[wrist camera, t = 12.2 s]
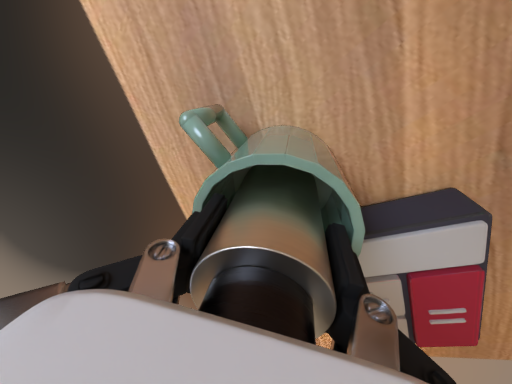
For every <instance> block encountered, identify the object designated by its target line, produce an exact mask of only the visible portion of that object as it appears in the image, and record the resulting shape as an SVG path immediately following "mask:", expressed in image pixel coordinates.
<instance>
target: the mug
mask: <svg viewBox="0 0 512 384" xmlns="http://www.w3.org/2000/svg"><path fill="white" fill-rule="evenodd" d="M215 122H216V123H217V124H218V126H219V127H220V128H221V129H222V130H223V132H224V133H225V134H226V135H227V137H228V138H229V139H230V140H231V141H232V143H233V144H234V145H235V146H236V149H235V150H234V151H233V152H232V153H231V154H230V153H229V152H228V151H227V149H226V148H225V147H224V146H223V145H222V143H221V142H220V141H219V140H218V139H217V137H216V136H215V135H214V134H213V133H212V131H211V130H210V129H209V128H208V127H207V126H208V125H210V124H213V123H215ZM179 124H180V126H181V127H182V129H183V130H184V131H185V132H186V133H187V134H188V136H189V137H190V138H191V139H192V140H193V141H194V142H195V144H196V145H197V146H198V147H199V148H200V149H201V150H202V152H203V153H204V154H205V155H206V156H207V157H208V158H209V159H210V161H211V162H212V163H213V164H214V165H215V166H216V167H217V168H216V169H215V170H214V171H213V172H212V173H211V174H210V175H209V176H208V177H207V178H206V180H205V181H204V183H203V184H202V186H201V188H200V190H199V191H198V193H197V195H196V197H195V199H194V203H193V211H192V213H193V212H194V211H198V212H201V210H202V209H203V208H204V206H205V205H206V204H207V203H208V201H209V200H210V199H211V197H212V196H213V195H214V193H218V194H222V195H225V198H227V199H228V202H227V209H228V207H229V205H230V203H231V202H232V200H233V198H234V196H235V195H236V193H237V191H238V189H239V188H240V186H241V184H242V182H243V180H244V179H245V177H246V175H247V173H248V172H249V170H250V169H251V167H252V166H254V165H286V166H289V167H292V168H296V169H299V170H302V171H305V172H309V173H311V174H313V176H314V178H315V182H316V187H317V193H318V199H319V204H320V210H321V216H322V222H323V228H324V233H325V231H326V229H327V227H328V225H329V224H331V225H332V224H333V223H338V224H342V225H344V226H345V228H346V231H347V234H348V238H349V241H350V244H351V247H352V250H353V252H355V253H356V254H357V257H358V256H359V255H360V253H361V250H362V245H363V240H364V235H365V226H364V221H363V217H362V212H361V207H360V205H359V202H358V200H357V199H356V197H355V195H354V193H353V191H352V189H351V187H350V185H349V183H348V181H347V179H346V177H345V175H344V173H343V171H342V169H341V167H340V165H339V163H338V162H337V160H336V158H335V156H334V155H333V153H332V152H331V150H330V149H329V147H328V146H327V145H326V144H325V143H324V142H323V141H322V140H321V139H320V138H319V137H318V136H316V135H315V134H313V133H311V132H309V131H307V130H305V129H302V128H299V127H294V126H285V125H281V126H273V127H268V128H265V129H262V130H260V131H258V132H256V133H254V134H253V135H251V136H250V137H248V138H247V137H246V135H245V134H244V133H243V132H242V130H241V129H240V128H239V126H238V125H237V124H236V123H235V121H234V120H233V119H232V118H231V116H230V115H229V114H228V113H227V111H226V110H225V109H224V108H223V107H222V106H221V105H219V104H215V105H210V106H206V107H202V108H197V109H193V110H188V111H185V112H183V113H182V114H181V115H180V117H179ZM227 209H226V211H227Z"/></svg>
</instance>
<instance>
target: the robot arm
mask: <svg viewBox="0 0 512 384" xmlns="http://www.w3.org/2000/svg"><path fill="white" fill-rule="evenodd" d="M227 202H228V199H227V198H225V195H222V194H218V193H214V195H213V196H212V197H211V199H210V200H209V201H208V203H207V204H206V205H205V206H204V208H203V209H202V210H201V212H198V211H194V212H193V213H192V215H191V216H190V217H189V218H188V220H187V221H186V222H185V223H184V225H183V226H182V227H181V228H180V230H179V231H178V232H177V233H176V235H175V236H174V237H173V238H172V239H171V240H170V239H160V240H156V241H154V242H152V243H150V244H149V245H148V246H147V247H146V249H145V250H144V252H143V255H141V256H137V257H134V258H130V259H127V260H123V261H120V262H117V263H113V264H109V265H106V266H102V267H99V268H95V269H92V270H89V271H87V272H84V273H83V274H81V275H79V276H77V277H76V278H75V279H74V280H73V281H72V282H71V283H68V284H66V283H65V282H60V283H57V284H53V285H49V286H46V287H42V288H38V289H34V290H30V291H27V292H23V293H19V294H15V295H12V296H8V297H4V298H1V299H0V384H456V382H455V381H454V380H453V379H452V378H451V377H450V376H449V375H448V374H447V373H446V372H445V371H444V370H443V369H442V368H441V367H440V366H438V365H437V364H436V363H435V362H434V361H433V360H432V359H431V358H430V357H429V356H428V355H427V354H425V353H424V352H423V351H422V350H421V349H420V348H419V347H418V346H417V345H416V344H414V343H413V342H412V341H411V340H410V339H409V338H408V337H407V336H406V335H405V334H404V333H402V332H401V331H400V330H399V329H398V321H397V316H396V314H395V312H394V310H393V309H392V308H391V307H390V305H389V304H388V303H387V302H385V301H384V300H383V299H381V298H380V297H378V296H376V295H373V294H370V292H369V289H368V286H367V283H366V280H365V277H364V274H363V271H362V268H361V265H360V262H359V259H358V257H357V254H356V253H355V252H353V250H352V247H351V244H350V241H349V238H348V234H347V231H346V228H345V226H344V225H342V224H338V223H333V224H332V225H331V224H329V225H328V227H327V229H326V231H325V239H326V245H327V251H328V256H329V262H330V268H331V274H332V279H333V285H334V291H335V297H336V303H337V311H336V316H335V319H334V321H333V323H332V325H331V326H330V328H329V329H328V330H327V331H326V332H325V333H329V335H330V336H331V338H332V343H331V347H330V349H327V348H324V347H321V346H317V345H314V344H311V343H307V342H304V341H301V340H297V339H294V338H291V337H287V336H284V335H281V334H277V333H274V332H270V331H267V330H264V329H260V328H257V327H253V326H250V325H247V324H243V323H240V322H236V321H233V320H230V319H226V318H223V317H219V316H216V315H212V314H209V313H205V312H202V311H198V310H195V309H192V308H188V307H184V306H181V305H178V304H179V298H180V295H183V294H185V293H186V292H187V293H190V277H191V273H192V271H193V269H194V267H195V265H196V264H197V262H198V260H199V258H200V257H201V255H202V253H203V251H204V249H205V248H206V246H207V244H208V242H209V241H210V239H211V237H212V235H213V234H214V232H215V230H216V228H217V226H218V225H219V223H220V221H221V219H222V218H223V216H224V214H225V212H226V209H227Z"/></svg>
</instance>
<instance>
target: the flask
mask: <svg viewBox="0 0 512 384" xmlns="http://www.w3.org/2000/svg"><path fill="white" fill-rule="evenodd" d="M190 293H191V296H192V299H193V302H194V304H195V305H196V307H197V308H198V311H202V312H205V313H209V314H212V315H216V316H219V317H223V318H226V319H230V320H233V321H236V322H240V323H243V324H247V325H250V326H253V327H257V328H260V329H264V330H267V331H270V332H274V333H277V334H281V335H284V336H287V337H291V338H294V339H297V340H301V341H304V342H307V343H311V344H314V345H316V341H315V339H316V338H318V337H320V336H321V335H322V334H324V333H325V332H326V331H327V330H328V329H329V328H330V326H331V325H332V323H333V321H334V319H335V316H336V311H337V303H336V297H335V291H334V285H333V279H332V274H331V268H330V262H329V256H328V251H327V245H326V239H325V233H324V228H323V222H322V216H321V210H320V204H319V199H318V193H317V187H316V182H315V178H314V176H313V174H311V173H309V172H305V171H302V170H299V169H296V168H292V167H289V166H286V165H254V166H252V167H251V169H250V170H249V172H248V173H247V175H246V177H245V179H244V180H243V182H242V184H241V186H240V188H239V189H238V191H237V193H236V195H235V196H234V198H233V200H232V202H231V203H230V205H229V207H228V209H227V211H226V212H225V214H224V216H223V218H222V219H221V221H220V223H219V225H218V226H217V228H216V230H215V232H214V234H213V235H212V237H211V239H210V241H209V242H208V244H207V246H206V248H205V249H204V251H203V253H202V255H201V257H200V258H199V260H198V262H197V264H196V265H195V267H194V269H193V271H192V273H191V277H190Z"/></svg>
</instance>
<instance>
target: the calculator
mask: <svg viewBox="0 0 512 384" xmlns="http://www.w3.org/2000/svg"><path fill="white" fill-rule="evenodd" d="M361 212H362V217H363V221H364V226H365V235H364V240H363V245H362V250H361V253H360V255H359V256H358V259H359V262H360V265H361V268H362V271H363V274H364V277H365V280H366V283H367V286H368V289H369V292H370V294H373V295H376V296H378V297H380V298H381V299H383V300H384V301H385V302H387V303H388V304H389V305H390V307H391V308H392V309H393V310H394V312H395V314H396V316H397V321H398V329H399V330H400V331H401V332H402V333H404V334H405V335H406V336H407V337H408V338H409V339H410V340H411V341H412V342H413V343H416V344H417V346H418V347H448V346H476V345H477V344H478V340H479V338H480V329H481V320H482V310H483V301H484V292H485V282H486V273H487V264H488V254H489V245H490V235H491V226H492V215H491V214H490V213H489V212H488V211H486V210H485V209H484V208H482V207H481V206H480V205H478V204H477V203H475V202H474V201H473V200H471V199H470V198H468V197H467V196H466V195H464V194H463V193H461V192H460V191H459V190H457V189H455V188H449V189H445V190H440V191H435V192H431V193H426V194H421V195H417V196H412V197H408V198H403V199H398V200H394V201H389V202H384V203H380V204H375V205H371V206H366V207H361Z"/></svg>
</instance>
